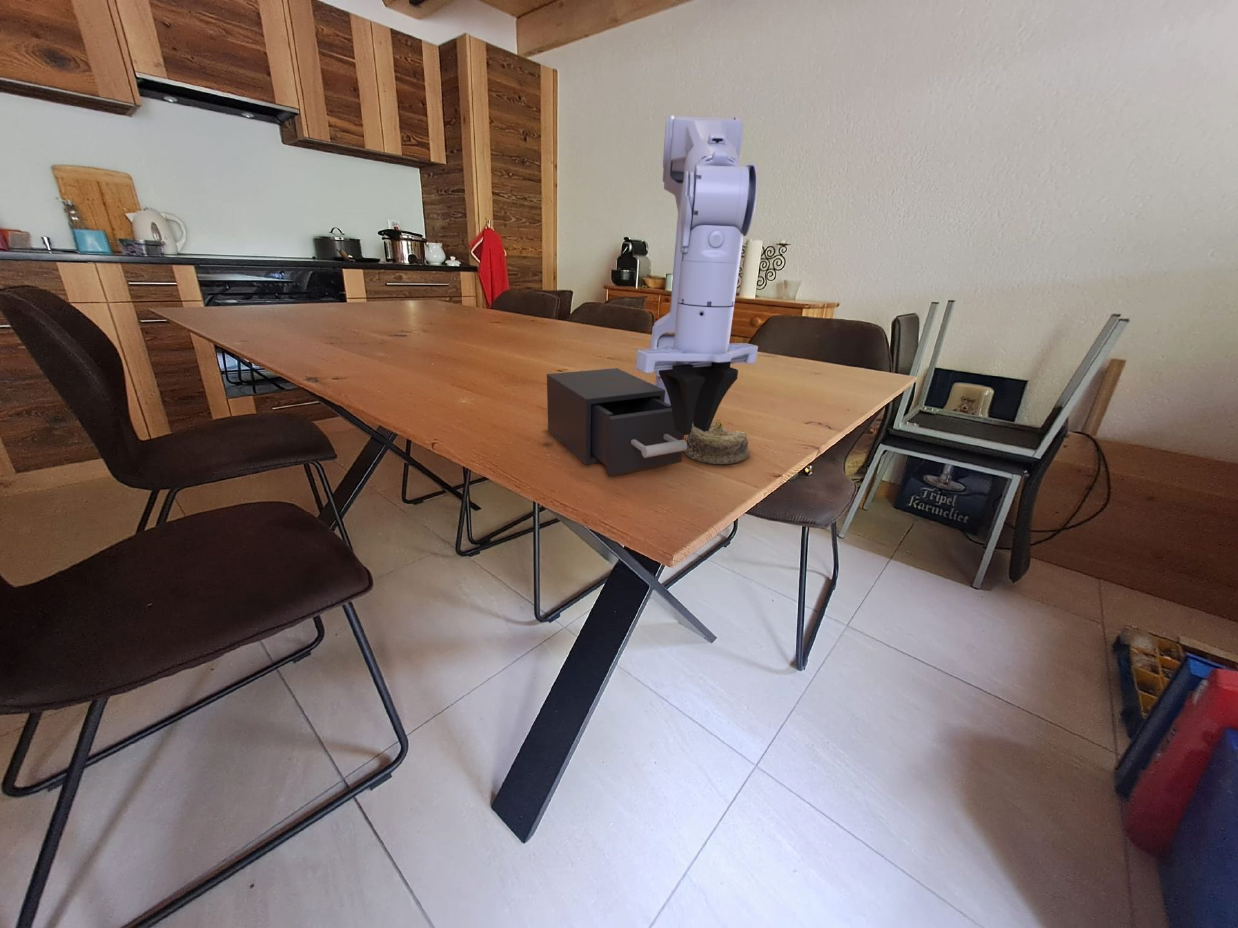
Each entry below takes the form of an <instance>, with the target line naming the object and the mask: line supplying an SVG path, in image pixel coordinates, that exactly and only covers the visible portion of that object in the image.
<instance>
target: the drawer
mask: <svg viewBox="0 0 1238 928" xmlns="http://www.w3.org/2000/svg"><path fill="white" fill-rule="evenodd" d="M686 449H687V440H686V439H685V435H684V434H682V433H680V432H678V431H677V430H675V427H674V419H673V413H672V408H671V405H669V404H667V403H665V402H663V401H661V400H659V399H657V398H655V397H647V398H639V399H630V400H622V401H614V402H605V403H597V404H591V451H590V453H591V454H592V455H594V456H595V457H596V458H597V459H598V460H600V461H601V462H600V463H602V464H603V465H604V466H605V474H607V475H608V476H609V477H614V476H619V475H623V474H624V475H625V474H628V473H629V474H630V473H634V472H638V471H643V470H648V469H654V468H658V467H664V466H668V465H669V466H670V465H673V464H678V463H682V462H683V452H684V450H686Z"/></svg>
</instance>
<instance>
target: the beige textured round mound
mask: <svg viewBox="0 0 1238 928" xmlns="http://www.w3.org/2000/svg"><path fill="white" fill-rule="evenodd" d="M686 442H687V449H686V450H684V451H683V452H684V454H685V455H686V456H687V457H688V458H690V459H692V460H694V461H696V462H701V463H707V464H713V465H729V464H737V463H739V462H741V461H745V460H746V459H747V458H749V456H750V449H749V439H748V434H746V432H745V431H739V430H736V431H733V432H729V431H728V430H727V429H725V428H724V425H723V423H722V420H720V419H716V420H715V422H712V423H711V426H710V428H709V431H706V432H704V431H702V430H700V429H698V428H696V427H694V426H692V429H691V432H690V434H688V435H687V439H686Z"/></svg>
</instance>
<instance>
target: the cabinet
mask: <svg viewBox="0 0 1238 928" xmlns="http://www.w3.org/2000/svg"><path fill="white" fill-rule="evenodd" d="M647 397H655V398H657V399H659V400H661V401H663V402H664V401H665V390H664V389H662V388H659V387H657V386H655V384H653V383H651V382H648V381H646V380H644V379H642V378H639V377H638V376H635V375H633V374H631V373H629V372H627V371H625V370H623V369H620V368H618V367H613V368H602V369H591V370H579V371H578V370H577V371H566V372H557V373H556V372H555V373H547V374H546V398H547V399H546V400H547V401H546V402H547V432H548V433H549V434H550V435H551V436H552V437H554V438H555V439H556V440H557V441H558V442H559V443H560V444H562V446H563V447H565V448H566V449H567V450H568V451H569V452H570V453H571V454H573V456H575V457H576V458H577V459H578V460H579V461H580V462H581V463H582V464H584V465H585V466H588V465H593V464H594V465H595V464H599V463H602V462H601V461H600V460H598V459H597V458H596V457H595V456H594V455H592V454H591V453H590V451H591V404H597V403H605V402H614V401H622V400H630V399H639V398H647Z"/></svg>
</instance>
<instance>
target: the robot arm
mask: <svg viewBox="0 0 1238 928" xmlns="http://www.w3.org/2000/svg"><path fill="white" fill-rule="evenodd" d="M743 134H744V125H743V122H742V120H741V118H740V116H734V117H732V118H731V117H729V118H728V117H702V116H700V117H699V116H677V115H676V116H675V114H670V115H669V117H668V118H667V119H666V120H665V129H664V141H663V153H662V154H663V157H662V168H663V169H662V183H663V189H664V190H665V191H667V192H669V193H670V194H672V195H673V196H674V198H675V205H676V209H677V219H676V220H677V221H676V233H675V245H674V256H673V257H674V258H673V269H672V271H673V272H672V282H671V283H672V284H671V294H670V296H671V297H670V307H669V312H668V313H667V314H665V315H663V316H662V317H660V318H659V319H657V320H656V321H655V322H654V323H653V326H652V329H651V336H650V345H649V348H648V349H647V348H646V349H637V350H636V363H635V364H636V365H635V369H636V370H638V371H639V372H642V373H644V374H653V373H655V383H654V385H655V386H657V387H659V388H662V389H664V390H665V401H664V402H665V403H667V404H669V405H671V408H672V413H673V419H674V427H675V430H677V431H678V432H680V433H682V434H684V436H688V434H690V432H691V429H692V426H694V427H696V428H698V429H700V430H702V431H704V432H706V431H709V428H710V426H711V423H713V422H714V418H715V416H716V413H717V411H718V409H719V407H720V405H721V402H722V400H723V399H724V398H725V396H726V394H727V393H728V391H729V390H730V388H731V387H732V386H733V384H734V383H735V382H736V381H737V380H738V376H739V369H737V368H734V367H731V364H742V363H743V364H748V365H749V364H753V365H754V364H756V363H757V356H758V350H759V346H758V345H755V344H751V343H747V342H741V343H740V342H739V343H736V342H735V343H734V342H733V343H732V342H731V341H730V339H731V332H732V325H733V318H734V310H735V304H736V303H735V302H736V295H737V287H738V280H739V274H740V273H739V272H740V265H741V258H742V252H743V251H742V250H743V243H744V237H747V235H748V233H749V231H750V228H751V225H752V221H753V218H754V216H755V215H754V214H755V210H756V206H757V205H756V204H757V197H758V171H757V165H756V164H754V163H750V164H747V165H745V166H742V165H741V162H740V158H741V157H740V156H741V150H742V145H743V136H744V135H743Z"/></svg>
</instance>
